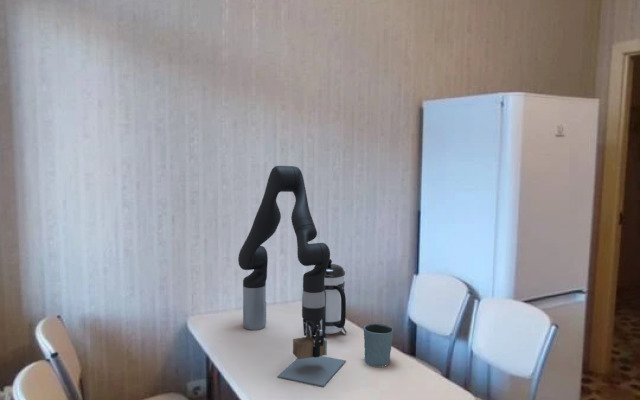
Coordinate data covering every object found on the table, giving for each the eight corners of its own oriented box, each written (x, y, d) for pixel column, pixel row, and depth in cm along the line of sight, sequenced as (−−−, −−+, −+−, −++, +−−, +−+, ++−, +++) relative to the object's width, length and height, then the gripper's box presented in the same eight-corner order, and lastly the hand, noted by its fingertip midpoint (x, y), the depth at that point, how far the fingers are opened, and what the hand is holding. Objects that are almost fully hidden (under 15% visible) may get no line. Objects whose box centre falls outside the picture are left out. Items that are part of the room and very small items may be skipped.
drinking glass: (357, 358, 174) (358, 325, 173) (383, 353, 178) (383, 321, 177) (372, 370, 165) (372, 335, 164) (398, 365, 169) (399, 331, 168)
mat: (303, 354, 177) (303, 352, 177) (345, 362, 171) (345, 360, 171) (277, 377, 159) (277, 375, 159) (323, 387, 153) (323, 385, 152)
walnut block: (293, 338, 164) (321, 334, 167) (292, 353, 164) (320, 349, 168) (298, 344, 159) (326, 340, 163) (298, 359, 160) (326, 354, 163)
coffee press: (302, 337, 193) (302, 261, 190) (317, 323, 208) (318, 253, 205) (344, 344, 186) (345, 266, 183) (357, 330, 201) (358, 257, 198)
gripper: (332, 308, 157) (332, 360, 159) (316, 296, 170) (315, 344, 172) (310, 311, 154) (310, 364, 156) (295, 298, 168) (295, 347, 169)
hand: (313, 353), depth 164 cm, fingers closed on walnut block, 5 cm apart
